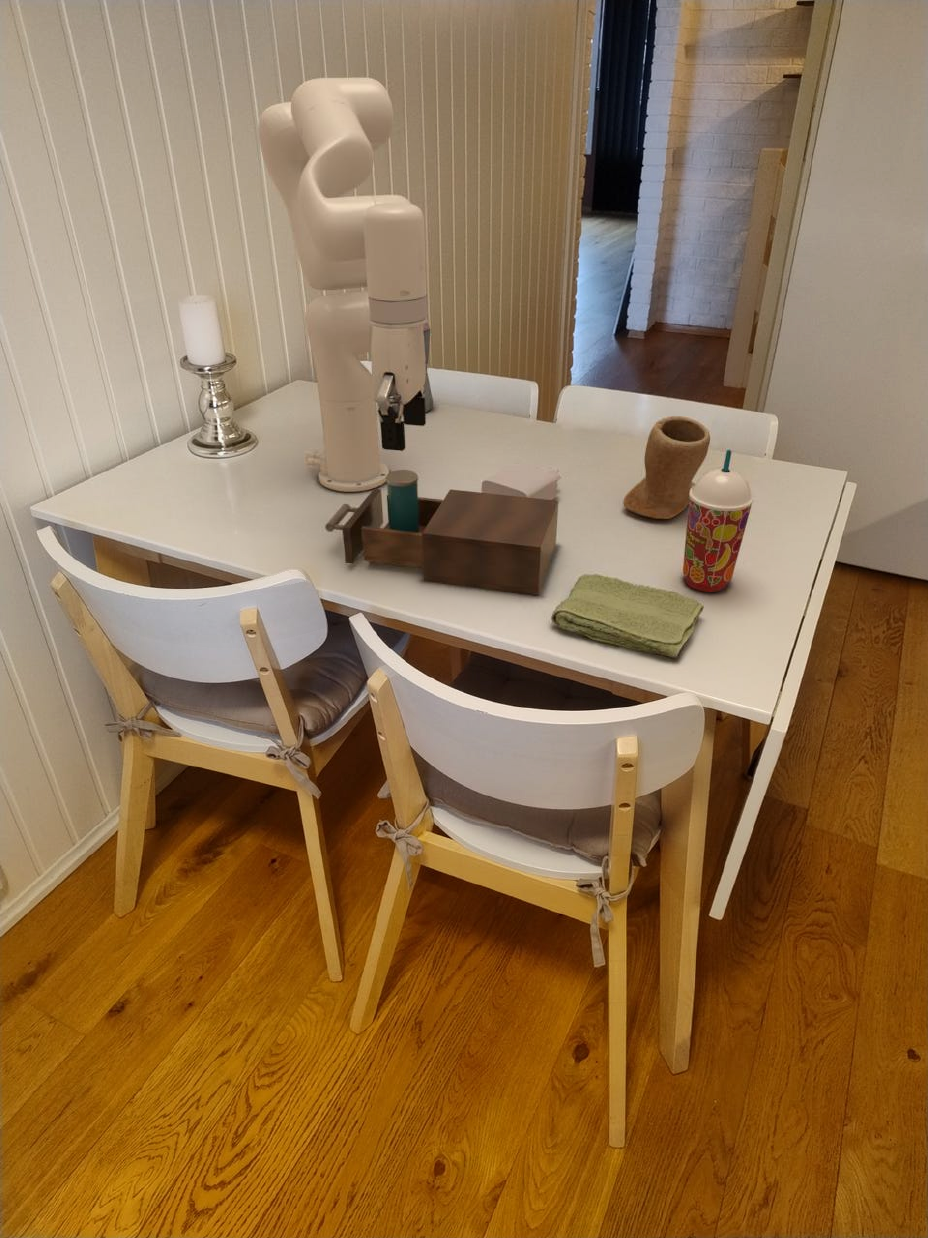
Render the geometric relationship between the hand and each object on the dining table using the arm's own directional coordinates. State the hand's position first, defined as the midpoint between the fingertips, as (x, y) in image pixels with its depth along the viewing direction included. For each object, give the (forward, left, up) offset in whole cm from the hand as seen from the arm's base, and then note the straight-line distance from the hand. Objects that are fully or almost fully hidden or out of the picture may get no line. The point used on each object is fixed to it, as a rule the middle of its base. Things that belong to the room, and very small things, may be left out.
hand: (404, 436), depth 118 cm
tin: (-1, 0, -17) cm, 17 cm away
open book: (+14, +24, -19) cm, 33 cm away
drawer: (-2, 0, -18) cm, 18 cm away
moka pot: (-19, +62, -19) cm, 67 cm away
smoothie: (+44, +2, -19) cm, 48 cm away
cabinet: (+13, 0, -19) cm, 23 cm away
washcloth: (+34, -11, -19) cm, 40 cm away
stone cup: (+37, +26, -19) cm, 49 cm away
